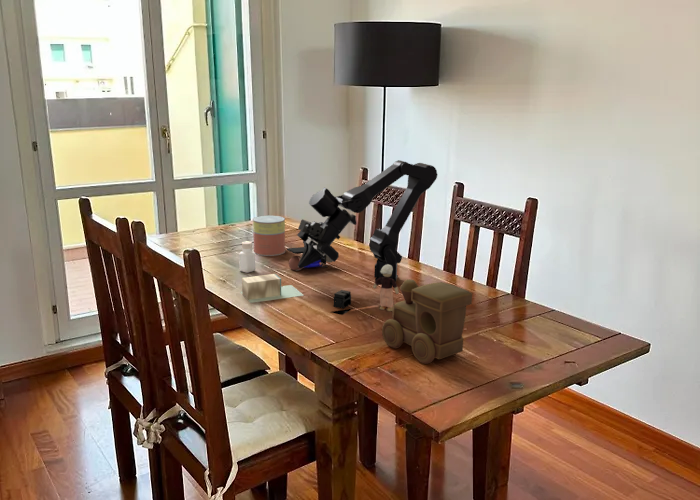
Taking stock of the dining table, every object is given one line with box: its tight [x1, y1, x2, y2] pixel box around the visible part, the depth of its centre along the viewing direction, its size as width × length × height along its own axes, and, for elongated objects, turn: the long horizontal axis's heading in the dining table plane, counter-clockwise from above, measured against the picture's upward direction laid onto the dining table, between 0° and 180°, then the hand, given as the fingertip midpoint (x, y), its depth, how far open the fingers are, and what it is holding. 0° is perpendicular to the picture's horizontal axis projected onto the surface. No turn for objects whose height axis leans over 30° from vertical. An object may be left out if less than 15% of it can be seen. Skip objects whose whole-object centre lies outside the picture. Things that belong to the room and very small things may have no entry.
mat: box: [239, 284, 304, 304], centre depth 189 cm, size 16×10×1 cm, turn 116°
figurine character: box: [286, 246, 334, 271], centre depth 215 cm, size 7×8×15 cm
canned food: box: [252, 214, 286, 257], centre depth 232 cm, size 11×11×12 cm
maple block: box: [241, 273, 282, 301], centre depth 187 cm, size 5×5×10 cm
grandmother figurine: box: [372, 264, 400, 312], centre depth 179 cm, size 8×4×13 cm, turn 71°
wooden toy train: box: [381, 278, 473, 365], centre depth 152 cm, size 20×11×17 cm, turn 38°
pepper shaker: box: [238, 240, 257, 274], centre depth 210 cm, size 4×4×10 cm
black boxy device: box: [330, 289, 354, 316], centre depth 180 cm, size 13×8×5 cm, turn 150°
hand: (299, 267), depth 191 cm, fingers closed
